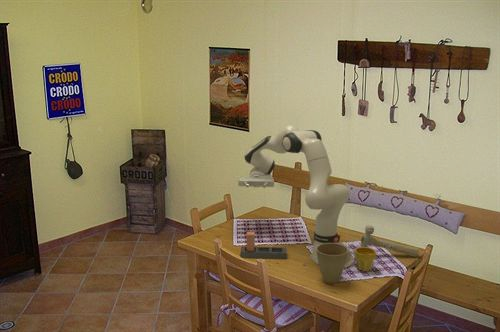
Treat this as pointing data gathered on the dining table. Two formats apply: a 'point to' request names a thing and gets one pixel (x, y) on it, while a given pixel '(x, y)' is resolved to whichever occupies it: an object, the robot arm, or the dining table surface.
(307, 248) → the dining table surface
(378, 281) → the dining table surface
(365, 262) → the plant pot
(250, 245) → the peg
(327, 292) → the dining table surface
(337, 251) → the plant pot
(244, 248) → the grey slotted tray
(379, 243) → the hammer
